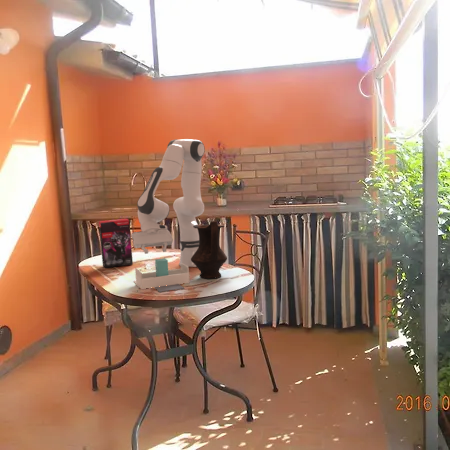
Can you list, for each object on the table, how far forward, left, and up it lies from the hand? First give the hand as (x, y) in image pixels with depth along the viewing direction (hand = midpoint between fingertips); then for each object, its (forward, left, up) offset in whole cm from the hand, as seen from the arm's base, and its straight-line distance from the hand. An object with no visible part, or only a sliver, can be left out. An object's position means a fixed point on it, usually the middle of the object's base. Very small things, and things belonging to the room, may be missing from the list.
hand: (155, 252), depth 255 cm
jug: (-25, +10, -15) cm, 31 cm away
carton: (0, +6, -14) cm, 16 cm away
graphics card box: (+12, -48, -15) cm, 52 cm away
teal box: (0, +9, -14) cm, 17 cm away
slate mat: (0, +20, -14) cm, 25 cm away
